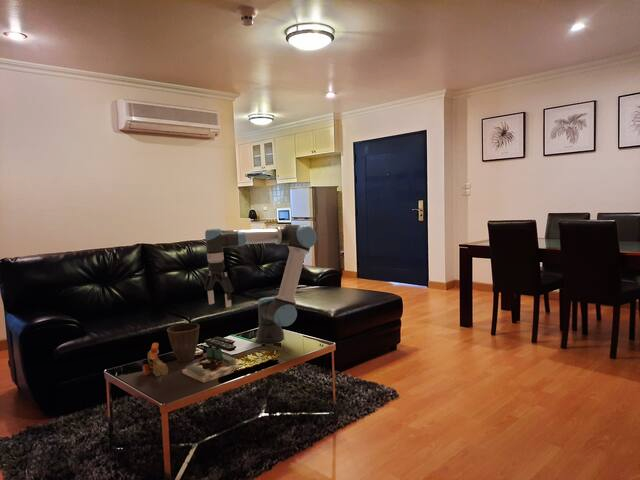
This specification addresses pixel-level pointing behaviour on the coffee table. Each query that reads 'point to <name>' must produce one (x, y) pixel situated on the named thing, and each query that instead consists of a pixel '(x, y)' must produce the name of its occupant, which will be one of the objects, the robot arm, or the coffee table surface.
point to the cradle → (207, 374)
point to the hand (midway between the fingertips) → (220, 305)
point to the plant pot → (184, 340)
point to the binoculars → (212, 357)
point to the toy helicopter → (155, 363)
